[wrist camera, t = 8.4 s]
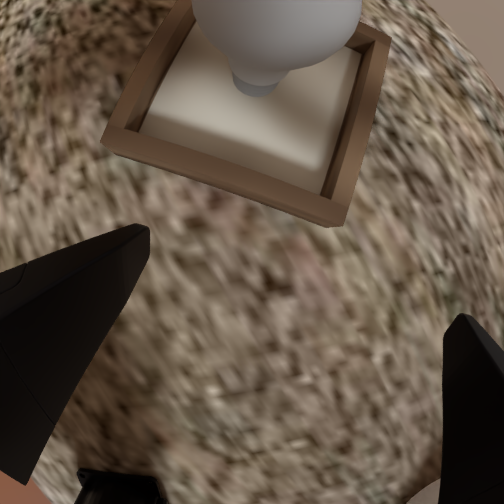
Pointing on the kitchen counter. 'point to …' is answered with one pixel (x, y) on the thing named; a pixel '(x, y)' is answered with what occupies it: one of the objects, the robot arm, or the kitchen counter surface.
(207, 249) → the kitchen counter surface
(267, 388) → the kitchen counter surface
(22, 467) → the robot arm
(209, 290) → the kitchen counter surface
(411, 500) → the cylinder with rectangular tab
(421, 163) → the kitchen counter surface
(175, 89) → the walnut tray
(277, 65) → the lightbulb
